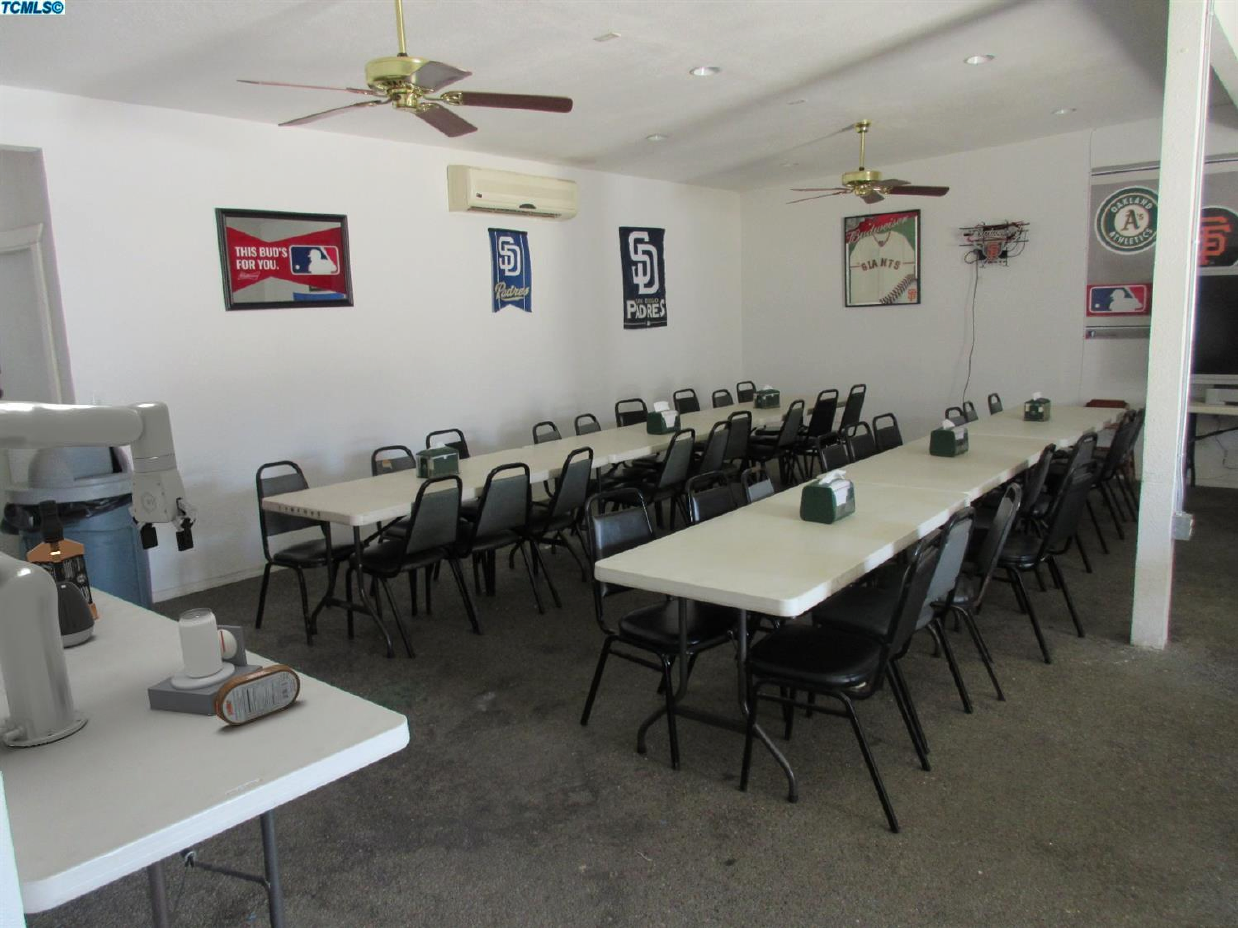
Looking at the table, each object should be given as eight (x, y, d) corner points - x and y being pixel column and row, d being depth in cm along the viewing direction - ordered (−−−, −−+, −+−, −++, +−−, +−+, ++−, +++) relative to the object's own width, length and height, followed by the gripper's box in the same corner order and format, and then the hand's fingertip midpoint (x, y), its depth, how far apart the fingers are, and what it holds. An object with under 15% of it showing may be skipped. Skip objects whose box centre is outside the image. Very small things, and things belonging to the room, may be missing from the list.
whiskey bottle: (101, 617, 222) (79, 496, 217) (69, 631, 213) (46, 505, 208) (68, 616, 225) (46, 497, 220) (35, 630, 215) (11, 505, 210)
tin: (298, 699, 163) (292, 657, 161) (305, 703, 161) (299, 661, 159) (216, 728, 152) (209, 684, 151) (222, 734, 150) (215, 688, 149)
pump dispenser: (37, 648, 202) (25, 586, 199) (82, 633, 211) (71, 573, 208) (61, 653, 197) (49, 590, 194) (106, 638, 206) (95, 576, 203)
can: (213, 663, 170) (204, 605, 168) (228, 670, 166) (220, 610, 164) (180, 674, 165) (170, 615, 164) (195, 681, 161) (186, 621, 159)
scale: (212, 715, 158) (203, 653, 156) (150, 708, 163) (140, 648, 161) (264, 684, 171) (256, 627, 169) (205, 679, 176) (197, 623, 174)
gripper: (106, 468, 169) (120, 552, 172) (171, 468, 163) (184, 555, 165) (140, 461, 176) (153, 542, 179) (203, 461, 169) (215, 545, 172)
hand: (168, 548), depth 172 cm, fingers open, 9 cm apart
